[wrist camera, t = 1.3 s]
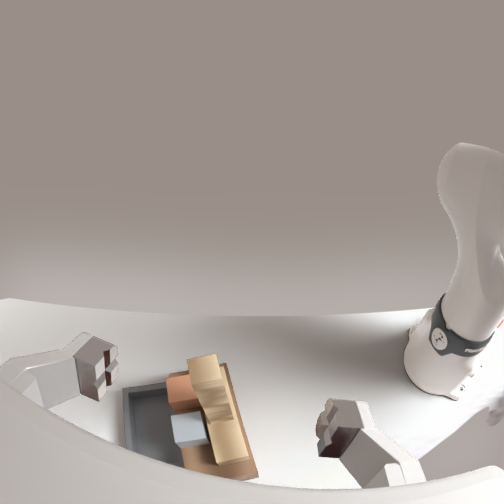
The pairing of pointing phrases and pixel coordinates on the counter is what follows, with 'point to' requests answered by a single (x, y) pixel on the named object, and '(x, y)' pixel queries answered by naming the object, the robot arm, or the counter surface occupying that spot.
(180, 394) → the salmon orange block
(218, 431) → the wooden inverted t block
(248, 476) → the wide wooden plinth
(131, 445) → the bin
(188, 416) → the pale blue-grey cube
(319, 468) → the counter surface
